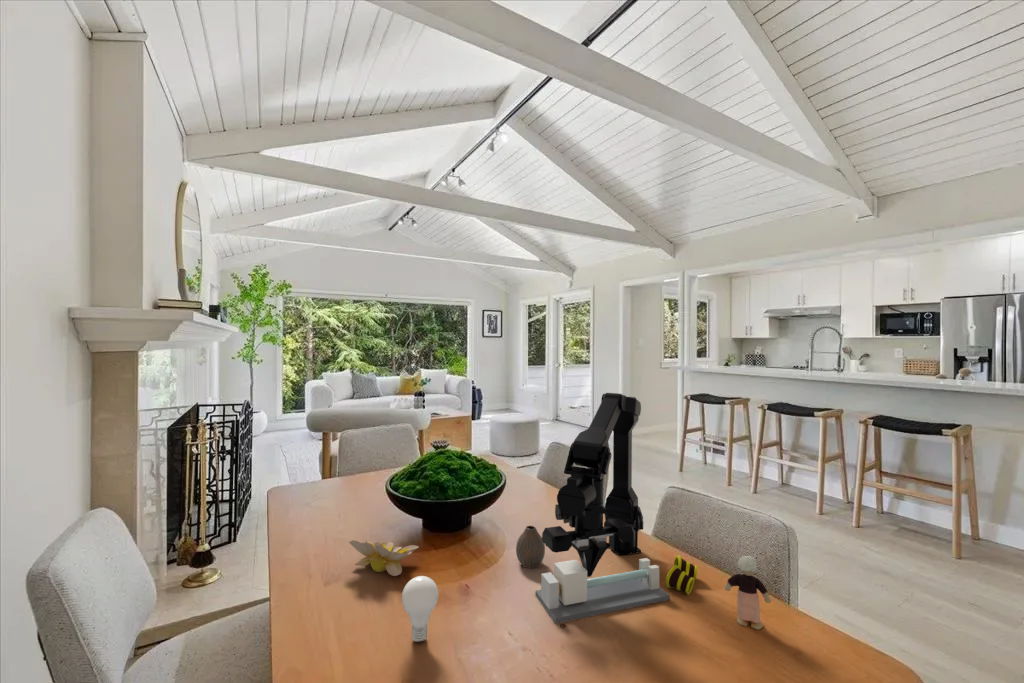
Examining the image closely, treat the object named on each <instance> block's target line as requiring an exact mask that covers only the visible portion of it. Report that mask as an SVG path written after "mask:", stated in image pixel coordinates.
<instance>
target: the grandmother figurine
mask: <svg viewBox="0 0 1024 683" xmlns="http://www.w3.org/2000/svg"><path fill="white" fill-rule="evenodd" d="M757 565H758V564H757V561H756V559H755V558H754V557H753V556H750V555H742V556H741V557H740V558H739V559H738V561H737V568H739V570H740V571H741V572H742V574H741V573H736V574H734V575H732V576H730V577H729V578H727V583H726V584H725V585H724V589H725V591H726V592H730V591H731V588H733V587H738V589H737V594H736V595H737V596H736V598H737V599H736V610H737V617H736V621H737V623H738V625H740V626H743V627H747V626H748V624H749V622H751V623H750V627H751V628H753V629H755V630H761V629H762V628H763V627H764V623H763V622H762V620H761V609H760V607H761V606H760V596H759V593H758V591H759V592H760V593H761V595H762V597H763V598H764V601H765V603H767V604H770V603H771V602H772V600H771V598H770V595H769V593H768V589H767V588H766V587H765V585H764V583H763V582H762V581H761V580H760V579H759V578H757V577H755V576H753V575H754V574H755V573H756V572H757V568H758V566H757Z"/></svg>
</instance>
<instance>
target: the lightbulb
mask: <svg viewBox="0 0 1024 683" xmlns="http://www.w3.org/2000/svg"><path fill="white" fill-rule="evenodd" d="M438 600H439V588H438V585H437V584H436V582H435V581H434V580H433V579H432V578H431V577H428V576H426V575H417V576H415V577H413V578H412V579H410V580H408V582H407V583H406V584H405V586H404V587H403V590H402V594H401V604H402V607H403V609H404V610H405V612H406V613H407V615H408V617H409V620H410V625H411V639H412V641H414V642H416V643H421V642H423V641H426V639H427V637H428V623H429V621H430V616H431V613H432V612H433V610H434V609H435V608H436V606H437V603H438Z"/></svg>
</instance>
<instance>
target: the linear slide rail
mask: <svg viewBox="0 0 1024 683" xmlns="http://www.w3.org/2000/svg"><path fill="white" fill-rule="evenodd" d="M540 580H541V585H540V586H541V588H540V589H538V590H535V597H536V598H537V600H538V602H540V604H541V606H542V607H543V608H544V609H545V611H546V612H547V614H548V615H549V617H550V618H551V620H552V621H553V622H554V624H560V622H561V623H564V622H565V623H566V622H569V621H574V620H581V619H584V618H590V617H593V616H599V615H603V614H604V615H605V614H608V613H613V612H618V611H622V610H628V609H631V608H632V609H633V608H636V607H641V606H646V605H650V604H651V605H653V604H656V603H661V602H665V601H670V600H671V599H670V598H671V594H669V593H668V592H667V591H665V590H664V589H663V588H662V587H660V566H659V565H657V564H653V565H651V560H650V559H649V558H648V557H645V558H639V559H638V570H631V571H626V572H624V571H623V572H619V573H615V574H614V573H613V574H609V575H603V576H597V577H590V578H587V601H585V602H580V603H574V604H569V605H563V603H562V602H561V601H560V600H559V594H561V593H562V585H561V584H559V582H558V580H557V579H556V578H555V577H554V574H553V573H552V572H550V571H549V572H544V573H541V579H540Z"/></svg>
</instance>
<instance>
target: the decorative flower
mask: <svg viewBox="0 0 1024 683" xmlns="http://www.w3.org/2000/svg"><path fill="white" fill-rule="evenodd" d="M348 543H349V545H351V546H352V548H354V549H355V550H356V551H357V553H358V552H359V553H360V554H361V555H363V556H364V557H363V558H360V559H359V560H358V561H356V562H355V563H353V566H359V567H365V566H367V565H369V564H370V566H371V568H372V569H373V571H374V572H377V573H384V572H386V571H387V573H388V574H389V575H391V576H393V577H397V576H399V575H401V574H402V572H403V566H402V564H401V561H400V560H402V559H404V558H406V557H408V556H409V555H411V554H412V553H413V552H414V551H416V550H417V549H418V548H419V546H418V545H416V544H415V545H414V544H411V545H406V546H404V547H402V546H395V547H394V543H393V542H390V541H384V542H375V543H374V542H371V541H367V540H365V541H363V542H360V541H358V540H353V539H352V540H350V541H349V542H348Z"/></svg>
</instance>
